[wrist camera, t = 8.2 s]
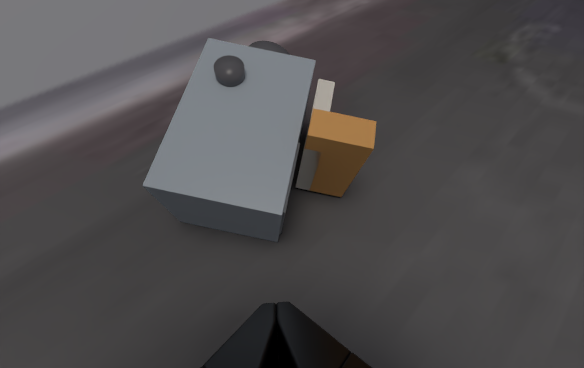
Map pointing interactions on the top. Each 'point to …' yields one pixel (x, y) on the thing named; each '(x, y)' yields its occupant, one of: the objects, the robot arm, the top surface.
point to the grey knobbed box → (235, 139)
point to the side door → (333, 146)
